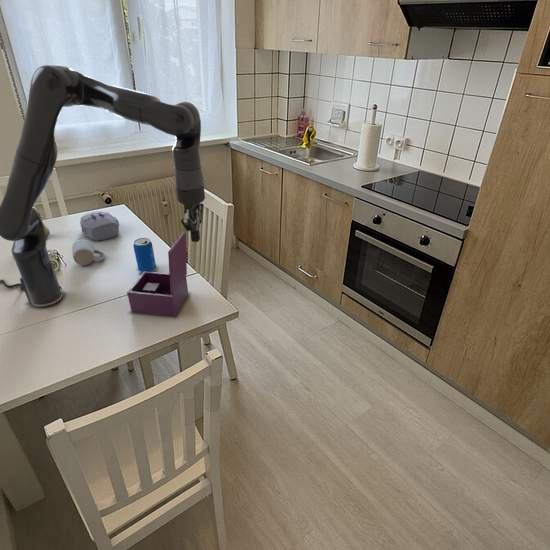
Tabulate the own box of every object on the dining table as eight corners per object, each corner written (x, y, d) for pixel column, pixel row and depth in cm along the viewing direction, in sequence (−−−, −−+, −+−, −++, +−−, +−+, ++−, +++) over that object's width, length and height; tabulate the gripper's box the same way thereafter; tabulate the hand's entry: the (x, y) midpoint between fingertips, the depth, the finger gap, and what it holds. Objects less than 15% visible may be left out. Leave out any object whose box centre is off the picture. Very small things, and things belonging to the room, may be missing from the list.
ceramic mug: (75, 268, 147) (70, 250, 143) (75, 258, 153) (70, 240, 149) (105, 263, 151) (101, 245, 147) (104, 253, 157) (100, 236, 153)
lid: (168, 251, 111) (170, 252, 110) (183, 232, 121) (185, 232, 121) (170, 295, 119) (173, 295, 119) (184, 273, 129) (186, 273, 129)
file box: (131, 312, 125) (126, 292, 121) (147, 290, 136) (144, 271, 131) (175, 316, 123) (172, 296, 119) (188, 294, 134) (185, 274, 130)
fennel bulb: (38, 234, 170) (29, 208, 163) (50, 232, 172) (42, 206, 165) (37, 240, 165) (28, 213, 159) (50, 238, 167) (41, 212, 161)
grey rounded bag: (125, 234, 171) (110, 219, 184) (121, 217, 166) (106, 202, 180) (89, 244, 163) (76, 227, 176) (84, 226, 158) (71, 210, 172)
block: (144, 303, 128) (141, 289, 125) (149, 295, 131) (146, 282, 129) (157, 304, 127) (154, 290, 124) (162, 296, 131) (159, 283, 128)
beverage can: (151, 275, 144) (146, 246, 137) (135, 273, 145) (129, 244, 138) (159, 266, 149) (154, 238, 142) (143, 264, 150) (138, 236, 144)
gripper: (184, 174, 111) (190, 230, 121) (167, 191, 100) (175, 250, 110) (210, 176, 110) (214, 231, 120) (195, 193, 99) (201, 252, 109)
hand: (195, 240), depth 115 cm, fingers closed
